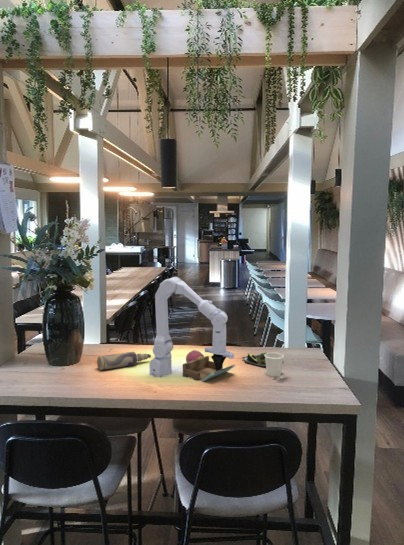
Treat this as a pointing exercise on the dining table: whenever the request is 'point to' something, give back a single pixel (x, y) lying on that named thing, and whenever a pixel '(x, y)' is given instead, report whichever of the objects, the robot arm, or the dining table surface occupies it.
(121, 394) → the dining table surface
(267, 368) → the dixie cup
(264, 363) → the salad plate
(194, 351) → the cupcake
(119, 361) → the decorative bottle
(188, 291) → the robot arm
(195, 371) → the cart bed
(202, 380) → the panel
